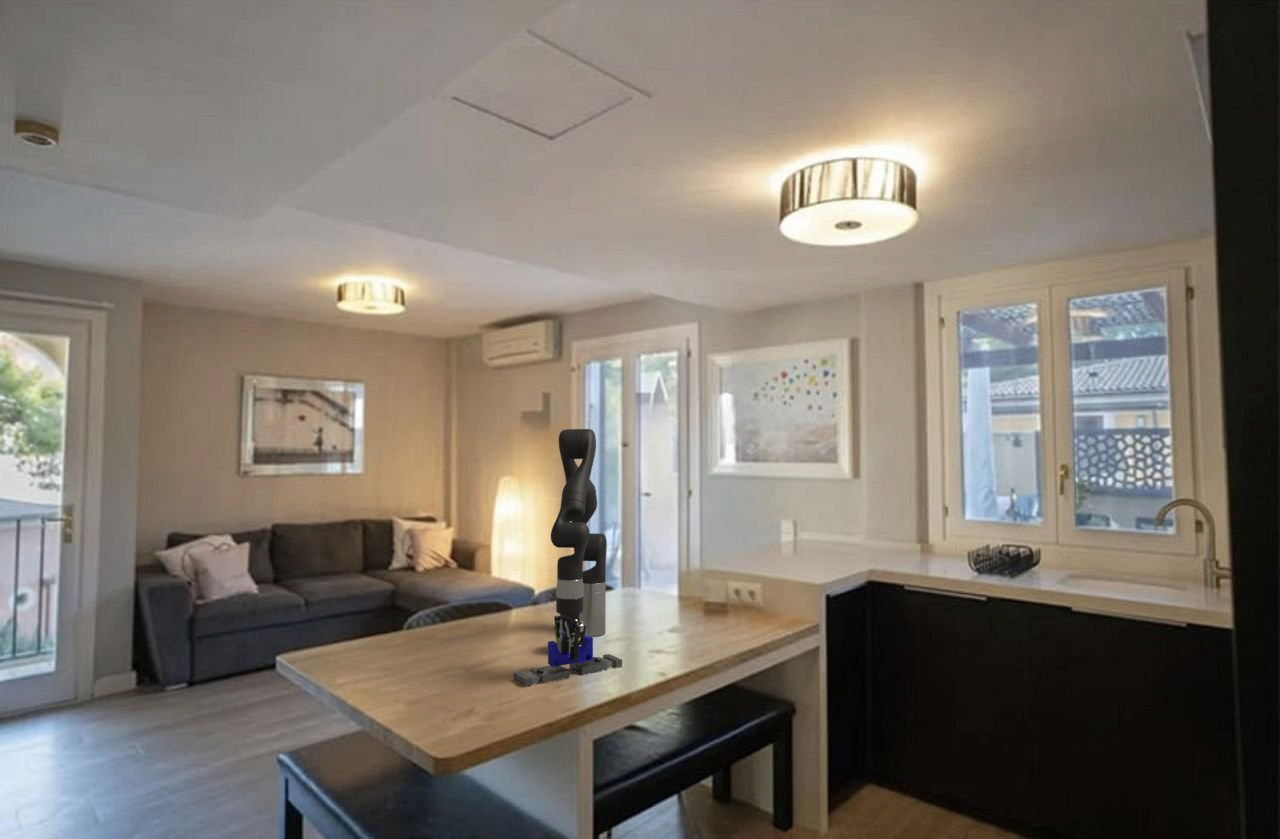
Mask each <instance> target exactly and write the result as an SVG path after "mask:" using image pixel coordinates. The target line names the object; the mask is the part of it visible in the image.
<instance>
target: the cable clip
mask: <svg viewBox="0 0 1280 839" xmlns="http://www.w3.org/2000/svg"><path fill="white" fill-rule="evenodd" d="M593 657H594V637H593V636H585V637H584V644H583V645H580V646H579V653H578V660H574V661H572V660H570V653H567V654H566V655H562V654H561V653H560V652H559V649H558V644H557V643H556V641H555V640H547V664H548V666H549V665H550V666H552V667H555V666H565V665H570V664H573V663H579V662H585V661H591V660H593Z"/></svg>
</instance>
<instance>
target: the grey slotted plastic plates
mask: <svg viewBox="0 0 1280 839" xmlns="http://www.w3.org/2000/svg"><path fill="white" fill-rule="evenodd" d="M621 666H622V667H623V659H622V658H620V657H617V656H614V655H612V654H609V653H606V654H602V657H600V656H599V657H598V656H597V657H596V656H593V660H591V661H585V662H579V663H573V664H569V669H568V668H565V667H564V666H563V665H561V666H555V667H552V666H550V665H549V664H548V665H545V666H539V667H535V668H530V671H529V672H528V671H527V672H523V671H521V670H519V671H514V672H513V681H514V680H515V682H516V681H517V682H516V683H518V682H519V683H520V684H519V683H518V684H519V685H521V684H522V685H523V687H524V686H525V687H524V688H527V687H526V686H528V687H532V686H533V685H534V683H536V684H540V683H539V682H542V683H541V684H545V683H544V682H547V683H549V682H548V681H552V682H554V681H553V680H557V679H562V678H566V679H569V678H570V670H571V669H572V670H571V671H573V670H574V671H573V672H575V671H576V672H575V673H577V672H578V673H577V674H579V673H580V674H579V675H581V674H582V675H581V676H585V675H584V674H586V675H589V674H588V673H590V674H595V673H599V672H598V671H600V672H603V671H602V670H605V671H608V669H610V668H609V667H613V668H615V667H619V668H622V667H621ZM607 668H608V669H607ZM594 672H595V673H594ZM568 677H569V678H568ZM562 680H563V679H562ZM557 681H558V680H557ZM522 685H521V686H522ZM531 685H532V686H531Z"/></svg>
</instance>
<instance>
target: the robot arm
mask: <svg viewBox="0 0 1280 839" xmlns="http://www.w3.org/2000/svg"><path fill="white" fill-rule="evenodd" d="M596 449H597V439H596V434H595V431H594V430H593V429H591V428H573V429H572V428H567V429H562V430H561V431H560V432H559V434H558V450H559V453H560V458H561V463H562V468H563V471H564V472H563V473H564V476H565V477H564V478H565V484H564V486H563V489H562V492H561V500H560V508H559V512H558V514H557V518H556V519H555V522H554V523H553V524H552V525H553V526H552V528H551V531H550V541H551V543H552V545H553V546H554V547H555V548H559V549H560V548H563V549H565V548H568V549H570V548H572V549H573V553H572V554H569V555H564V556H561V557H559V558H558V560H557V564H556V566H557V568H556V569H557V570H556V573H557V574H556V575H557V576H556V578H557V579H556V585H555V586H556V587H555V593H556V594H555V596H556V597H555V601H556V604H555V610H556V613H557V614H559V615H554V617H553V618H554V619H553V620H554V621H555V628H556V635H555V638H556V637H557V638H559V640H560V642H561V654H562V655H566V654H567V653H569V641H568V640H569V639H570V645H571V647H570V660H572V661H574V660H578V653H579V646H581V645H583V644H584V637H585V636H590V637H600V636H604V635H605V634H606V610H607V609H606V606H607V605H606V603H607V602H606V598H607V597H606V590H607V589H606V583H607V582H606V578H607V577H606V575H607V573H606V569H607V566H606V565H607V564H606V563H607V545H608V544H607V542H608V541H607V538H606V535H605V534H604V533H593V532H591V533H590V529H589V526H588V525H587V524H588V522H589V521H590V520H591V518H592V517H593V516H594V514H595V513H596V510H597V507H598V498H597V491H596V490H597V489H596V487H595V485H594V483H593V482H592V480H591V479H590V477H591V474H592V470H593V466H594V461H595V460H594V459H595V456H596V451H597V450H596ZM576 460H581V463H580V464H579V466H578V465H577V462H576ZM584 562H595V565H594V566H593V567H591V568H589V569H586V570H583V568H584V566H583V565H584ZM580 620H581V621H583V624H581V623H580ZM571 633H575V634H573V635H572V634H571ZM573 637H574V641H573Z"/></svg>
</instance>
